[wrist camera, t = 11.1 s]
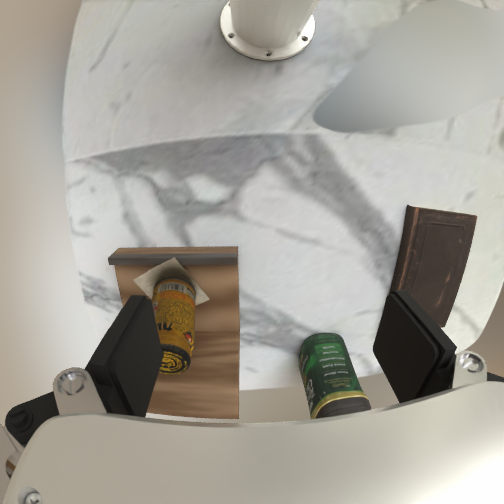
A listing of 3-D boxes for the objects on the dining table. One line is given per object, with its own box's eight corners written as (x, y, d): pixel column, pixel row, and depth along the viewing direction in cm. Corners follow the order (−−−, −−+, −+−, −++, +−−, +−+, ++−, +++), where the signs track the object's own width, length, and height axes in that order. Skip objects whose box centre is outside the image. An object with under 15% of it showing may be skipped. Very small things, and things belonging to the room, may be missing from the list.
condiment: (169, 317, 40) (163, 384, 30) (133, 279, 36) (113, 347, 26) (209, 298, 39) (212, 368, 29) (174, 255, 35) (163, 325, 25)
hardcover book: (469, 212, 39) (477, 216, 36) (439, 321, 47) (444, 327, 45) (405, 203, 38) (412, 207, 36) (376, 328, 46) (381, 335, 44)
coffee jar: (301, 331, 45) (326, 420, 28) (345, 329, 45) (384, 411, 28) (294, 371, 48) (311, 455, 31) (334, 368, 49) (361, 447, 31)
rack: (118, 247, 39) (54, 311, 22) (237, 246, 39) (234, 322, 22) (135, 324, 44) (96, 403, 27) (239, 328, 44) (238, 418, 27)
